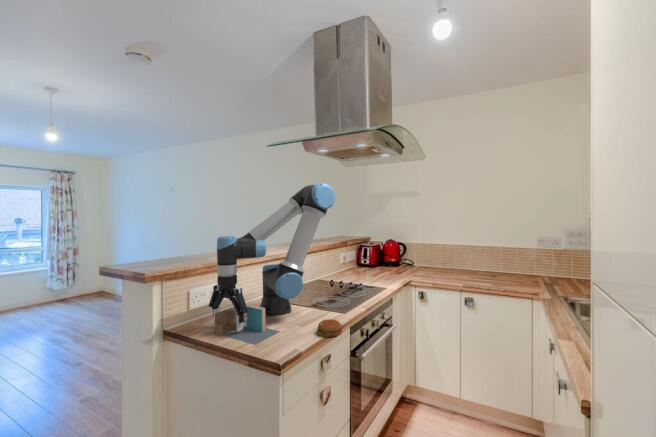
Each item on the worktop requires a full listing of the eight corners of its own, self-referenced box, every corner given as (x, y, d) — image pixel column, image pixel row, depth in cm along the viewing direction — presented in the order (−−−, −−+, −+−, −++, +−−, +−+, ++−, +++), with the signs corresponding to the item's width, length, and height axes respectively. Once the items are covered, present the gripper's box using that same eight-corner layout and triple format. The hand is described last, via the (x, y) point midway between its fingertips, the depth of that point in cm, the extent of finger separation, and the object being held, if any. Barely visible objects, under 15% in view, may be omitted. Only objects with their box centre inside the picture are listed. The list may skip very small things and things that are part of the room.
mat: (280, 332, 123) (280, 331, 123) (255, 346, 110) (255, 344, 110) (240, 323, 134) (240, 322, 134) (214, 334, 122) (214, 333, 122)
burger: (346, 334, 121) (346, 322, 121) (327, 340, 115) (326, 328, 115) (332, 326, 129) (331, 315, 129) (313, 332, 124) (312, 320, 123)
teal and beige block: (250, 326, 128) (250, 305, 128) (265, 330, 124) (265, 308, 124) (247, 328, 126) (246, 306, 126) (262, 332, 122) (261, 309, 122)
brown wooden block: (223, 335, 119) (223, 315, 119) (213, 333, 122) (212, 312, 122) (256, 321, 134) (256, 303, 134) (246, 319, 137) (246, 301, 137)
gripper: (256, 275, 121) (257, 329, 122) (214, 270, 134) (214, 319, 134) (242, 279, 115) (243, 336, 115) (199, 273, 127) (200, 324, 127)
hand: (228, 327), depth 125 cm, fingers open, 12 cm apart
